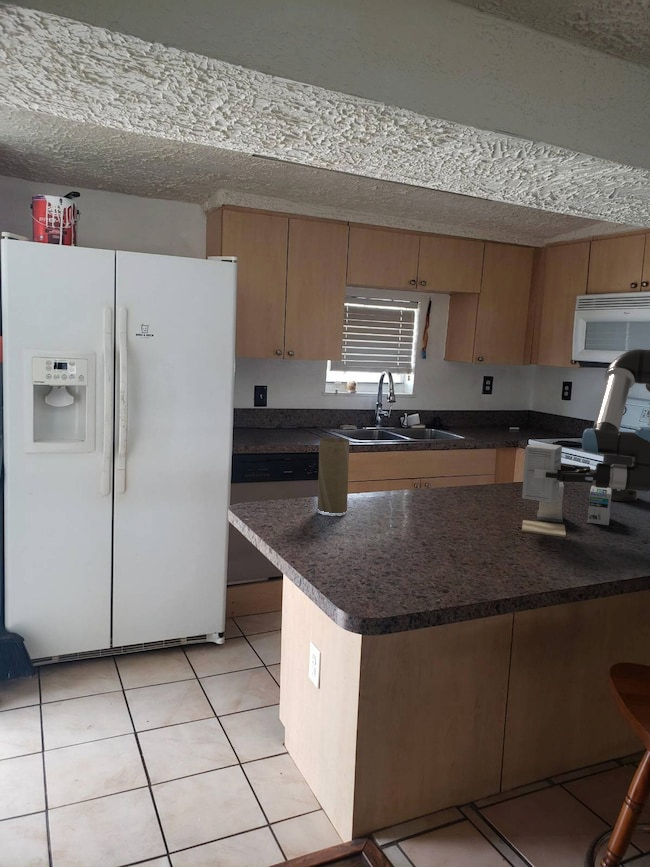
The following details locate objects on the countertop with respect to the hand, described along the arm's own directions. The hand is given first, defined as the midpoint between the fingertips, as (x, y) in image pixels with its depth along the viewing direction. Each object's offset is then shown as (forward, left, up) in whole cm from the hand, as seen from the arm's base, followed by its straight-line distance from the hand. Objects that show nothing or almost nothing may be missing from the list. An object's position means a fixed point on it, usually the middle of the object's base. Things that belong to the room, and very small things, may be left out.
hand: (534, 469), depth 207 cm
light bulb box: (-19, +22, -19) cm, 35 cm away
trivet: (-1, +4, -19) cm, 20 cm away
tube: (+8, -64, -19) cm, 67 cm away
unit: (-16, +6, -19) cm, 25 cm away
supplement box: (0, +2, -9) cm, 9 cm away
